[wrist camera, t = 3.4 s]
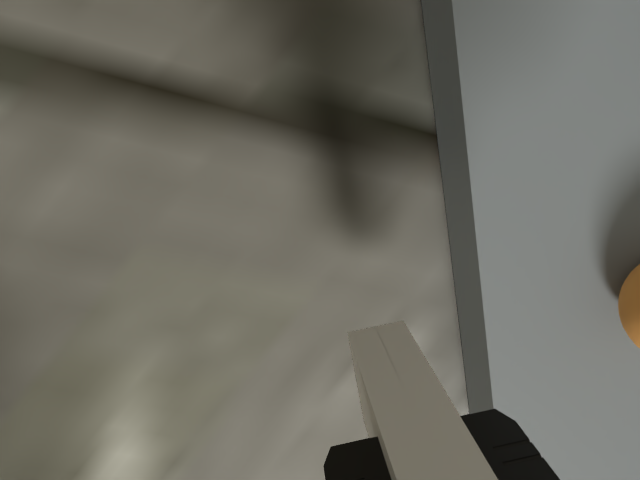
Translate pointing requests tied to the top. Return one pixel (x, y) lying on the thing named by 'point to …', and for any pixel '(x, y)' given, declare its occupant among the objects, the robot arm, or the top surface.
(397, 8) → the top surface
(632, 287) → the ball
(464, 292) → the plate
